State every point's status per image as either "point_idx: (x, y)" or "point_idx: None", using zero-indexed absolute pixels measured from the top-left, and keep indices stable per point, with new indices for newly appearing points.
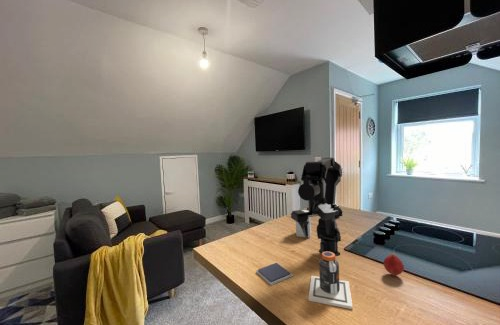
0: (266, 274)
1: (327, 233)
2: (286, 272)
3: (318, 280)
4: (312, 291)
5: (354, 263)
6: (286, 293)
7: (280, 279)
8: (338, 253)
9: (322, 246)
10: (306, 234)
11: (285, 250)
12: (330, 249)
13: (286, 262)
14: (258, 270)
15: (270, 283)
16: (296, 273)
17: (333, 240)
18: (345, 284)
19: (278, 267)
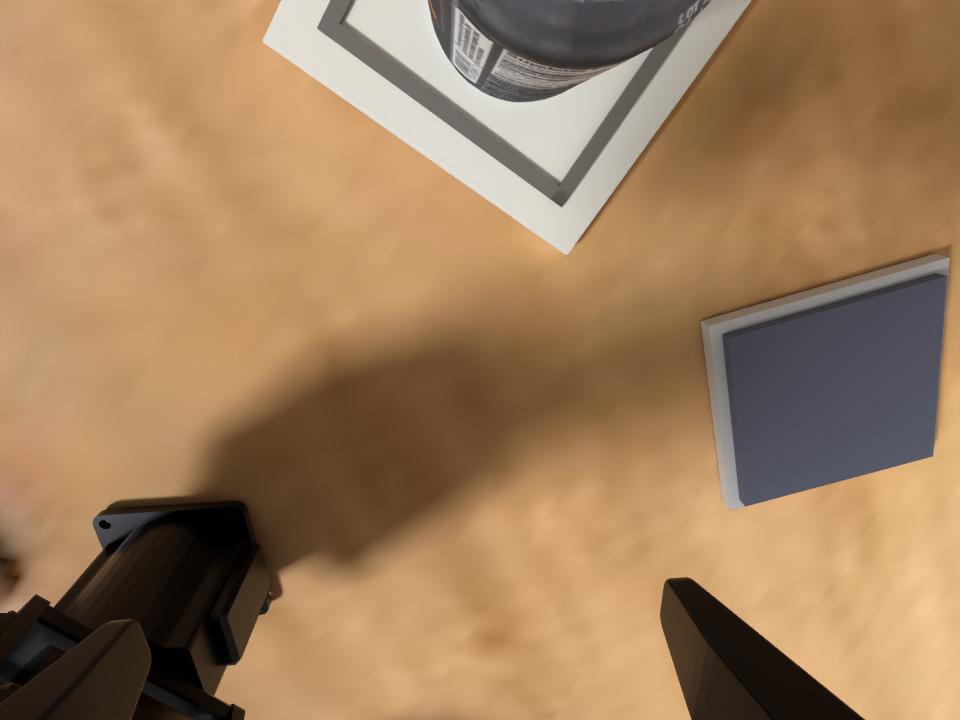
0: (920, 372)
1: (139, 655)
2: (756, 353)
3: (550, 161)
4: (708, 11)
5: (30, 346)
6: (890, 109)
7: (844, 286)
8: (114, 518)
9: (241, 607)
10: (760, 643)
11: (545, 659)
12: (175, 557)
13: (632, 511)
14: (928, 447)
15: (946, 261)
16: (645, 350)
17: (75, 633)
18: (326, 1)
19: (771, 439)
